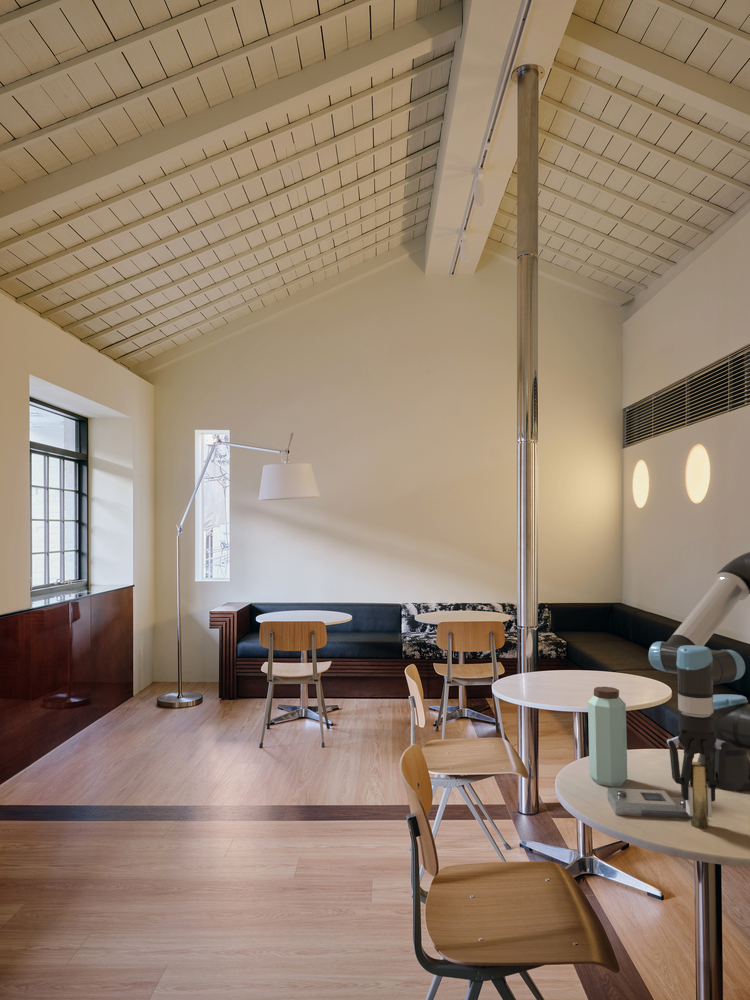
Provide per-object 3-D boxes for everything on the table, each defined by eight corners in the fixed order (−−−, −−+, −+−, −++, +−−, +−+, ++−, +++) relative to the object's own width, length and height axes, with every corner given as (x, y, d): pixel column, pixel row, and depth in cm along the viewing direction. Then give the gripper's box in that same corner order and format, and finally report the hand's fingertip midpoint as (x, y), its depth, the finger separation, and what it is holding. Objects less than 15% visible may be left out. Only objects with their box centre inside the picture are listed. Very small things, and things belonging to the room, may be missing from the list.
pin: (704, 822, 155) (702, 762, 156) (710, 829, 152) (708, 767, 153) (688, 821, 156) (687, 761, 157) (693, 828, 152) (692, 766, 153)
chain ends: (689, 803, 166) (689, 788, 166) (702, 819, 157) (702, 803, 157) (607, 799, 169) (607, 785, 169) (615, 814, 160) (615, 799, 160)
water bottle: (630, 789, 176) (628, 694, 177) (591, 786, 178) (589, 692, 179) (624, 775, 186) (622, 685, 187) (587, 773, 188) (585, 684, 189)
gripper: (726, 709, 158) (729, 809, 157) (654, 707, 160) (657, 805, 159) (739, 718, 150) (742, 823, 149) (664, 716, 153) (666, 819, 151)
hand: (698, 813), depth 154 cm, fingers closed on pin, 3 cm apart
